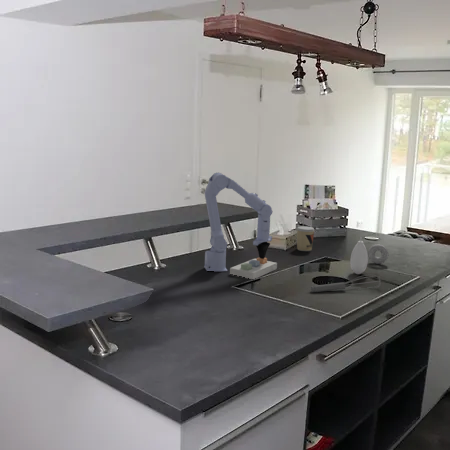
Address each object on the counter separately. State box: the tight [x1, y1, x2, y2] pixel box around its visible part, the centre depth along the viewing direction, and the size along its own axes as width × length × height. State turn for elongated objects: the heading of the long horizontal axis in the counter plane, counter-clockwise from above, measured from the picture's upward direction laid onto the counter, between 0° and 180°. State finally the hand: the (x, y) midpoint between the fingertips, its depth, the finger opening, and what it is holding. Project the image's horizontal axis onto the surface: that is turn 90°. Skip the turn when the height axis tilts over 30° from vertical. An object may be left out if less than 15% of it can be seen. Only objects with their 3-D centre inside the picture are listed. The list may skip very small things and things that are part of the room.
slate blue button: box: [248, 259, 260, 267], centre depth 247 cm, size 4×4×3 cm
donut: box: [367, 243, 389, 265], centre depth 269 cm, size 10×4×10 cm, turn 65°
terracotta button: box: [256, 257, 268, 264], centre depth 253 cm, size 4×4×3 cm
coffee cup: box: [296, 225, 316, 252], centre depth 293 cm, size 9×9×12 cm
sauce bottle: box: [349, 236, 369, 275], centre depth 250 cm, size 8×8×18 cm
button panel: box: [229, 258, 278, 280], centre depth 248 cm, size 22×12×3 cm, turn 147°
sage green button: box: [240, 262, 252, 270], centre depth 242 cm, size 4×4×3 cm
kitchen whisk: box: [306, 274, 382, 294], centre depth 226 cm, size 6×34×6 cm, turn 106°
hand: (261, 257), depth 253 cm, fingers closed
